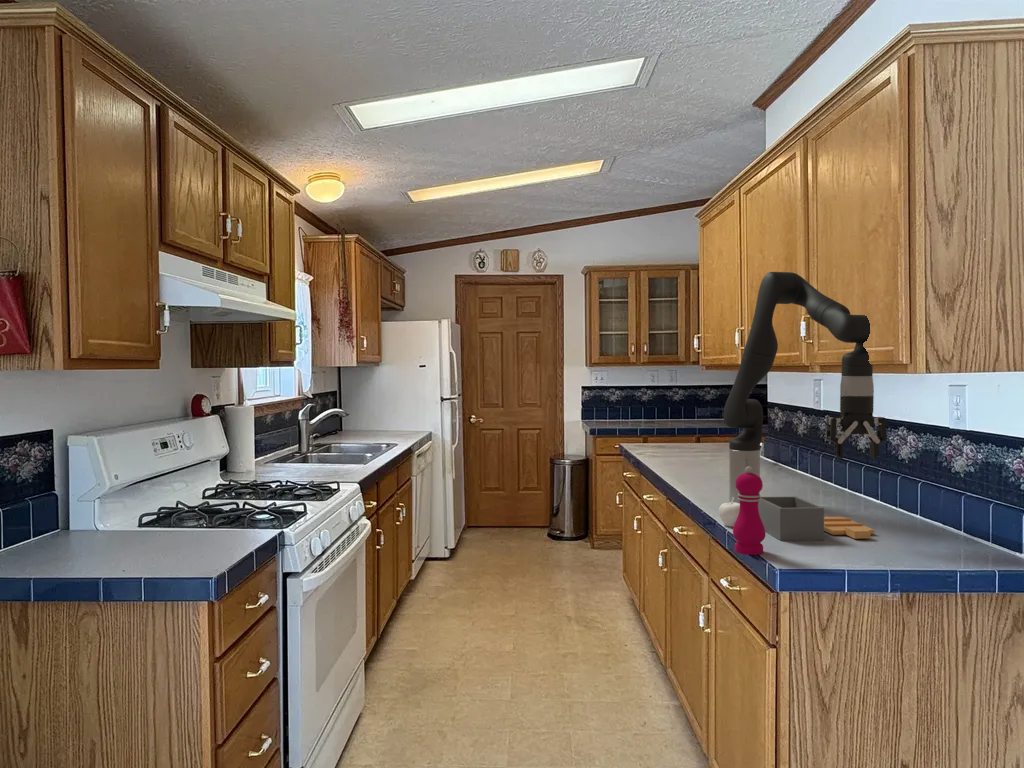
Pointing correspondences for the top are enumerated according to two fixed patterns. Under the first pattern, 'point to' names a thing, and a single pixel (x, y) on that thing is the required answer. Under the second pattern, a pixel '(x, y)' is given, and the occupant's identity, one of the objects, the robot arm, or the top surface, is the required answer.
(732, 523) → the apple
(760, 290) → the robot arm
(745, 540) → the pepper mill
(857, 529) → the wooden paddle board
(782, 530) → the tub
